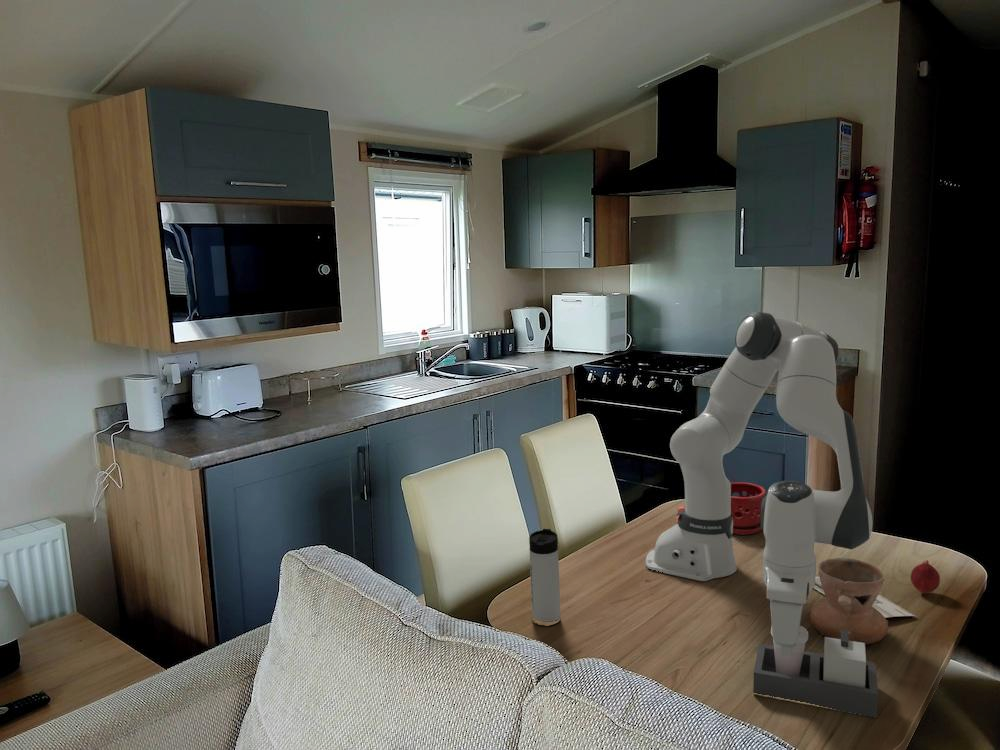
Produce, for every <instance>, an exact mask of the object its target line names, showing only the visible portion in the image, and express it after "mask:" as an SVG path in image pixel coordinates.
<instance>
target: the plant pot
mask: <svg viewBox="0 0 1000 750" xmlns="http://www.w3.org/2000/svg"><path fill="white" fill-rule="evenodd" d="M730 484H731V513H732V515H733V534H735V535H743V536H744V535H754V534H757V533H759V532H760V531H762V528H761V503H762V500H763V498H764V497H765V496H766V495H767V494H766V493H767V492H766V489H765V487H763V486H761V485H758V484H755V483H751V482H730ZM744 492H745V493H746V495H744V494H743V493H744ZM735 493H736V494H738V495H739V496H734V495H733V494H735Z"/></svg>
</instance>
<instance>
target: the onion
mask: <svg viewBox="0 0 1000 750" xmlns="http://www.w3.org/2000/svg"><path fill="white" fill-rule="evenodd" d="M910 581H911V584H912V585H913V586H914V588H915V589H916V590H917V591H919V592H920V593H921V594H924V595H927V594H929V593H932V592H934V591H936V589H938V588H939V586H940V583H941V582H940V581H941V577H940V574H939V572H938V570H937V569H936V568H935V567H934V566H932V564H930V563H929V560H927V559H923V561H922V563H919V564H917V565H916V566H914V568H913V569H912V571H911V573H910Z"/></svg>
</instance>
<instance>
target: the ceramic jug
mask: <svg viewBox="0 0 1000 750" xmlns="http://www.w3.org/2000/svg"><path fill="white" fill-rule="evenodd" d="M817 569H818V576H819V577H820V581H821V585H822V588H823V591H824V593H825V595H824V596H825V598H826V599H823V600H821V601H819V602H817V603H815V604H814V606H813V607H812V609H811V611H810V616H809V617H810V621H811V623H812V625H813V626H814V628H815V629H816V630H817V632H818V633H820V634H821V635H823V636H824V637H829V638H835V639H841V629H842V630H848V641H855V642H861V643H865V645H870V644H875V643H877V642H879V641H881V640H882V639H884V637H885V636H886V635H887V633H888V630H889V624H888V623H887V621H888V620H887V619H886V618H885V617H884V616H883V615H882V614H881V613H880V612H879V611H878V610H877V609H875V608H874V607H872V605H873V603H874V602H875V600H876V598H877V596H878V594H880V592H881V589H882V588H883V585H884V582H885V573H884V572H883V570H881V569H880V568H879V567H877V566H875V565H874V564H872V563H870V562H868V561H862V560H860V559H856V558H847V557H846V558H845V557H844V558H842V557H834V558H828V559H825V560H822V561H821V562H820V563H818V568H817ZM886 620H887V621H886Z"/></svg>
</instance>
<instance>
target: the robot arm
mask: <svg viewBox="0 0 1000 750" xmlns="http://www.w3.org/2000/svg"><path fill="white" fill-rule="evenodd" d="M734 337H735V338H734V342H735V344H734V345H735V347H734V349H733V350H732V352H731V353H730V355H729V356H728V358H727V359H726V361H725V362H724V364H723V366H722V367H721V370H720V371H719V373H718V374H717V376H716V378H715V379H714V382H713V383H712V384H711V387H710V389H709V394H710V395H709V399H708V400H707V404H706V407H705V408H704V410H703V411H702V412H701V413H700V414H699V415H698V416H697V417H696V418H693V419H691V420H689V421H686V422H684V423H683V424H682V425H680V426H679V428H677V429H676V430H675V432H673V434H672V436H671V437H670V442H669V448H670V453H671V455H672V457H673V458H674V459H675V460H676V462H677V463H679V466H680V470H681V472H682V476H683V478H682V479H683V481H684V483H683V484H684V506H683V505H681V506H680V507H679V508H678V510H677V514H676V524H674V525H673V526H671V527H670V528H668V529H667V530H665V531H663V532H662V533H661V534H660V535H659V537H658V538H657V539H656V542H655V545H654V548H653V549H651V550H650V551H649V552H648V553H647V555H646V557H645V563H646V564H645V567H646V566H647V567H648V568H649V569H652V570H651V571H653V570H656V571H655V572H658V571H659V572H658V573H662V572H663V573H662V574H667V575H672V576H677V577H682V578H685V579H690V580H695V581H699V582H708V581H710V580H713V579H718V578H724V577H725V578H726V577H727V576H731V575H733V574H734V573H736V572H737V570H738V565H737V561H736V558H735V557H736V556H735V554H734V549H733V548H734V547H733V540H732V539H733V538H732V537H733V534H734V533H733V515H732V513H731V484H730V483H731V482H730V480H729V479H728V478H727V476H726V474H725V470H724V465H723V458H724V455H726V454H728V453H730V452H732V451H733V450H734V449H736V448H737V446H738V445H739V443H741V441H742V439H743V437H744V434H745V430H746V427H747V424H748V422H749V420H750V418H751V415H752V414H753V412H754V410H755V408H756V406H757V405H758V403H759V402H760V400H761V399H762V397H763V396H764V393H766V390H767V389H768V387H769V385H770V384H771V383H772V381H773V379H774V377H775V376H776V374H778V375H777V381H776V391H775V394H776V395H775V403H776V410H777V412H778V415H779V416H780V417H781V419H783V421H784V422H786V424H788V425H789V426H790V427H792V428H793V429H794V430H796V431H798V432H801V433H802V434H806V435H808V436H811V437H813V438H815V439H817V440H819V441H821V442H823V443H825V444H827V445H828V446H829V447H831V448H832V450H834V452H835V454H836V460H837V464H838V465H837V466H838V472H839V480H840V489H839V490H836V491H829V490H818V489H812V488H811V487H810V486H809V485H807V484H806V483H804V482H801V481H798V480H781V481H777V482H774V483H773V484H771V485H770V486H769V488H768V490H767V492H766V493H767V494H766V496H765V497H764V498H763V500H762V503H761V528H762V529H761V531H763V535H764V538H765V539H764V540H765V545H764V549H763V554H762V580H763V582H764V585H765V588H766V591H765V594H766V599H767V600H769V605H770V606H769V607H770V608H769V609H770V621H771V627H772V633H773V636H772V640H773V639H774V642H775V643H776V644H778V645H781V655H783V656H788V657H790V656H791V655H792V647H794V646H796V644H797V640H798V634H799V628H800V625H801V620H802V614H803V609H804V605H806V604H807V601H808V598H809V595H810V593H811V591H812V589H814V588H813V587H814V586H815V577H816V574H817V573H816V571H817V569H816V566H817V558H816V557H817V556H816V553H815V548H814V547H815V543H818V544H826V545H832V546H834V547H839V548H843V549H848V550H854V549H856V548H858V547H860V546H862V545H863V544H865V543H866V542H867V541H869V540H870V537H871V534H872V531H873V516H872V510H871V508H870V505H869V502H868V498H867V496H866V490H865V483H864V482H865V481H864V475H863V474H864V473H863V467H862V461H861V454H860V448H859V442H858V438H857V434H856V433H857V432H856V427H855V423H854V420H853V418H852V417H853V416H852V415H851V414H850V413H849V412H848V411H846V410H843V409H842V407H841V405H840V404H839V402H838V399H837V365H836V364H837V362H838V359H839V354H840V351H839V344H838V342H837V340H836V339H835V338H833V337H832V336H830V335H829V334H827V333H825V332H824V331H820V330H819V331H818V330H817V329H815V328H813V327H811V326H808V325H806V324H804V323H801V322H798V321H793V320H791V319H787V318H783V317H779V316H774V315H773V314H771V313H769V312H762V311H761V312H760V311H754V312H751V313H749V314H748V315H747V316H745V317H744V318H743V319H742V320H741V322H740V324H739V325H738V328H737V330H736V333H735V336H734ZM777 372H778V373H777ZM647 567H646V568H647ZM648 568H647V569H648ZM649 569H648V570H649Z"/></svg>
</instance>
